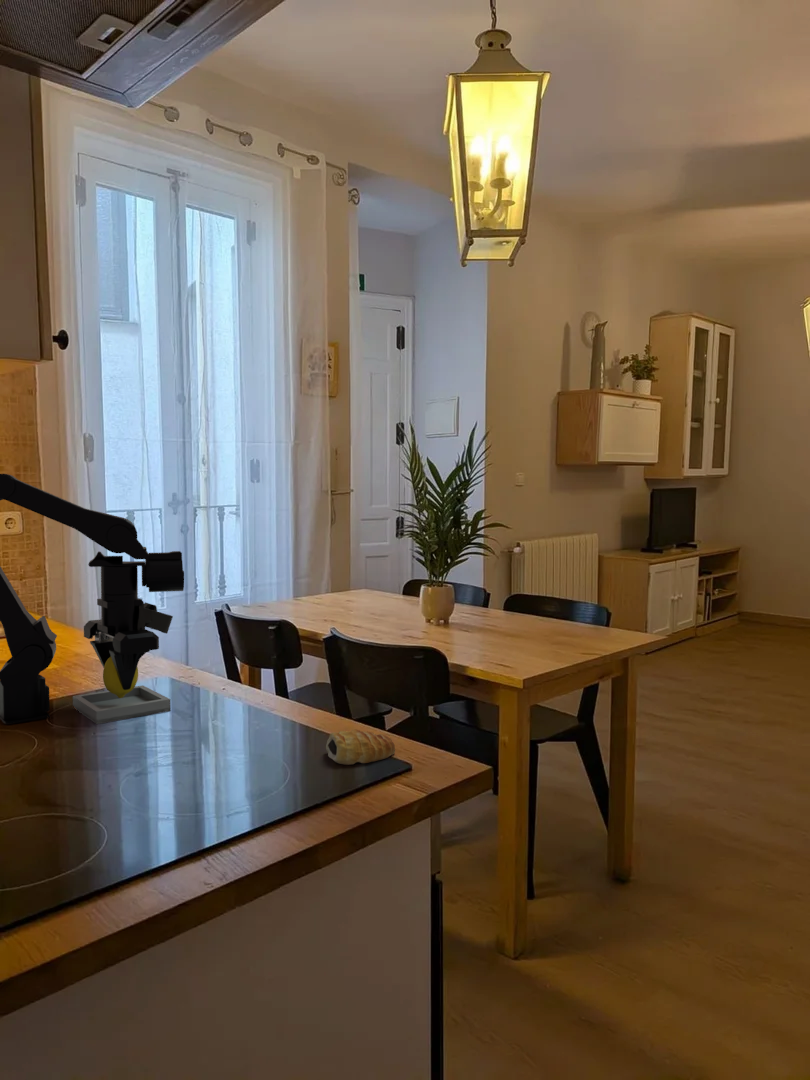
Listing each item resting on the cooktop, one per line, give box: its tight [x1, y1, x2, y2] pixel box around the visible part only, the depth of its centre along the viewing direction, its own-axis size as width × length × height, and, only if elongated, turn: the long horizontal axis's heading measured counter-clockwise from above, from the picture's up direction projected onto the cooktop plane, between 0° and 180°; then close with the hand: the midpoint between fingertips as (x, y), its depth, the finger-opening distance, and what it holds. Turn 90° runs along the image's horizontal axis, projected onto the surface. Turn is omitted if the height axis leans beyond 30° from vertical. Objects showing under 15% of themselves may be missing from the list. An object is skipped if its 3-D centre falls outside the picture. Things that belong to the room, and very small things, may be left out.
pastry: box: [325, 729, 396, 766], centre depth 108 cm, size 9×7×4 cm
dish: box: [72, 685, 172, 725], centre depth 130 cm, size 12×12×2 cm
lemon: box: [102, 657, 139, 698], centre depth 130 cm, size 6×6×8 cm
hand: (120, 686), depth 130 cm, fingers closed on lemon, 5 cm apart
